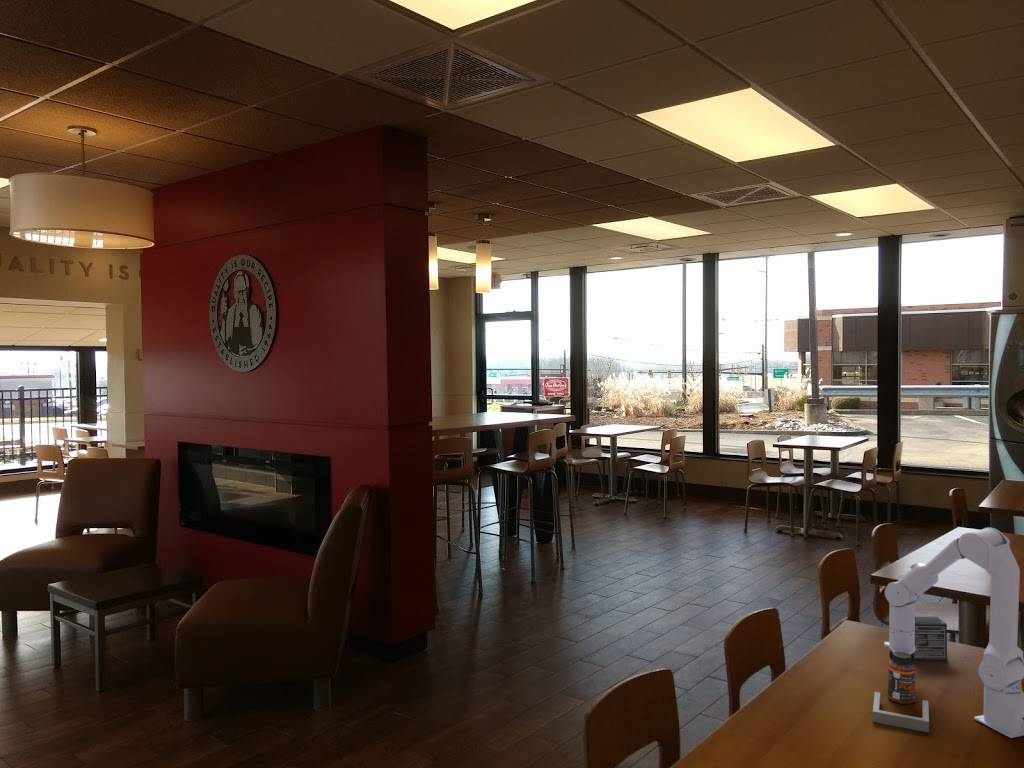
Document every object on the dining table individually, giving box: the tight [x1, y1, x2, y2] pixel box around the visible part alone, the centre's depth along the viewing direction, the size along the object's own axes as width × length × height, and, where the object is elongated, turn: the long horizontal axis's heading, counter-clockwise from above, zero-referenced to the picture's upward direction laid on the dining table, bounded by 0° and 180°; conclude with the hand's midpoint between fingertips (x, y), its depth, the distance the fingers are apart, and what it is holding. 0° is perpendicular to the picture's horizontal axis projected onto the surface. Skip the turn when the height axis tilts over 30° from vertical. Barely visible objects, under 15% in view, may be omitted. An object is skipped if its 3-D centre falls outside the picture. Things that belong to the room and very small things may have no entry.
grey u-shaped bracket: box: [872, 691, 930, 733], centre depth 178 cm, size 11×11×2 cm
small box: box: [913, 616, 948, 662], centre depth 212 cm, size 11×6×10 cm, turn 84°
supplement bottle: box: [887, 651, 916, 705], centre depth 187 cm, size 6×6×11 cm
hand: (901, 681), depth 194 cm, fingers closed
